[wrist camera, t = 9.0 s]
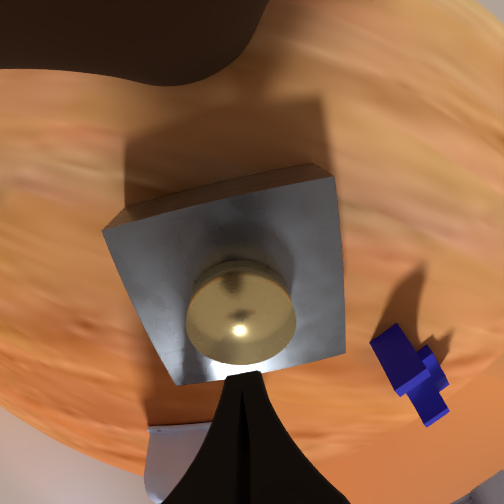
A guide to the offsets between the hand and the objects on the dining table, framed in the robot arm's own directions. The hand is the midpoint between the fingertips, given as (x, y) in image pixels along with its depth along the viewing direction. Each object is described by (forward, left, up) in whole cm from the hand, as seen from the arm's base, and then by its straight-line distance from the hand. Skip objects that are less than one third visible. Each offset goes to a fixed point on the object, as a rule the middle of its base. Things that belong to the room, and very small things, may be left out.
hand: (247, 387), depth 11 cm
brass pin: (0, 0, -10) cm, 10 cm away
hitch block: (0, 0, -10) cm, 10 cm away
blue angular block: (+14, -14, -10) cm, 23 cm away
